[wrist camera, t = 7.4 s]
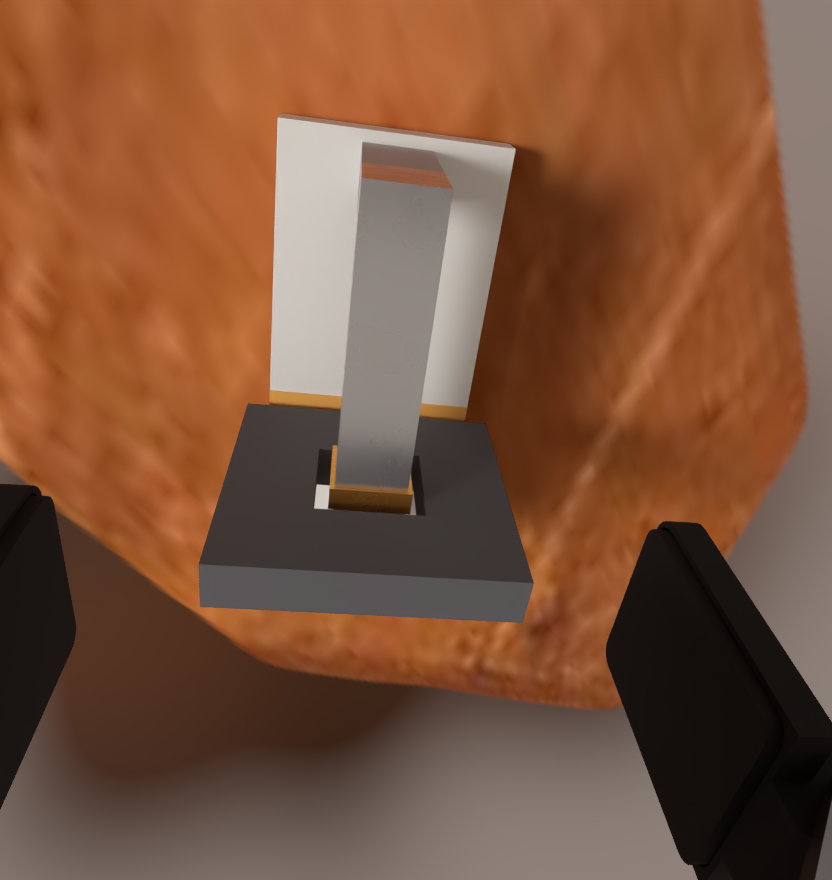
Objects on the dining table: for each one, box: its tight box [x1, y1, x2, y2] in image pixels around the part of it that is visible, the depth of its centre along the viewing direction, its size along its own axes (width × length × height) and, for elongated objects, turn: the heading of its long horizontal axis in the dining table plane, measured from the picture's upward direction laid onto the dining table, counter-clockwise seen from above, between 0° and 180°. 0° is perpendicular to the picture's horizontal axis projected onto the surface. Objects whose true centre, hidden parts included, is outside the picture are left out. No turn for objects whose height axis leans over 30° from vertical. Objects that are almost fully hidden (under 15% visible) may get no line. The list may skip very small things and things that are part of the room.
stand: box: [269, 113, 516, 515], centre depth 33 cm, size 20×10×6 cm, turn 173°
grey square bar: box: [328, 162, 454, 514], centre depth 29 cm, size 19×3×3 cm, turn 173°
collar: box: [199, 403, 534, 623], centre depth 31 cm, size 2×12×12 cm, turn 82°
